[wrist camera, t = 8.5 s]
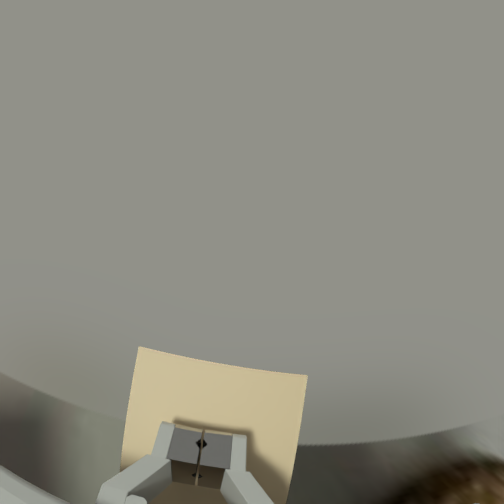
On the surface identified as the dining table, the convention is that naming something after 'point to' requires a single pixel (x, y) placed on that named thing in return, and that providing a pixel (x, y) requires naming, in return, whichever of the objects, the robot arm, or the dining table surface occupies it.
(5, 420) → the dining table surface
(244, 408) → the flap
